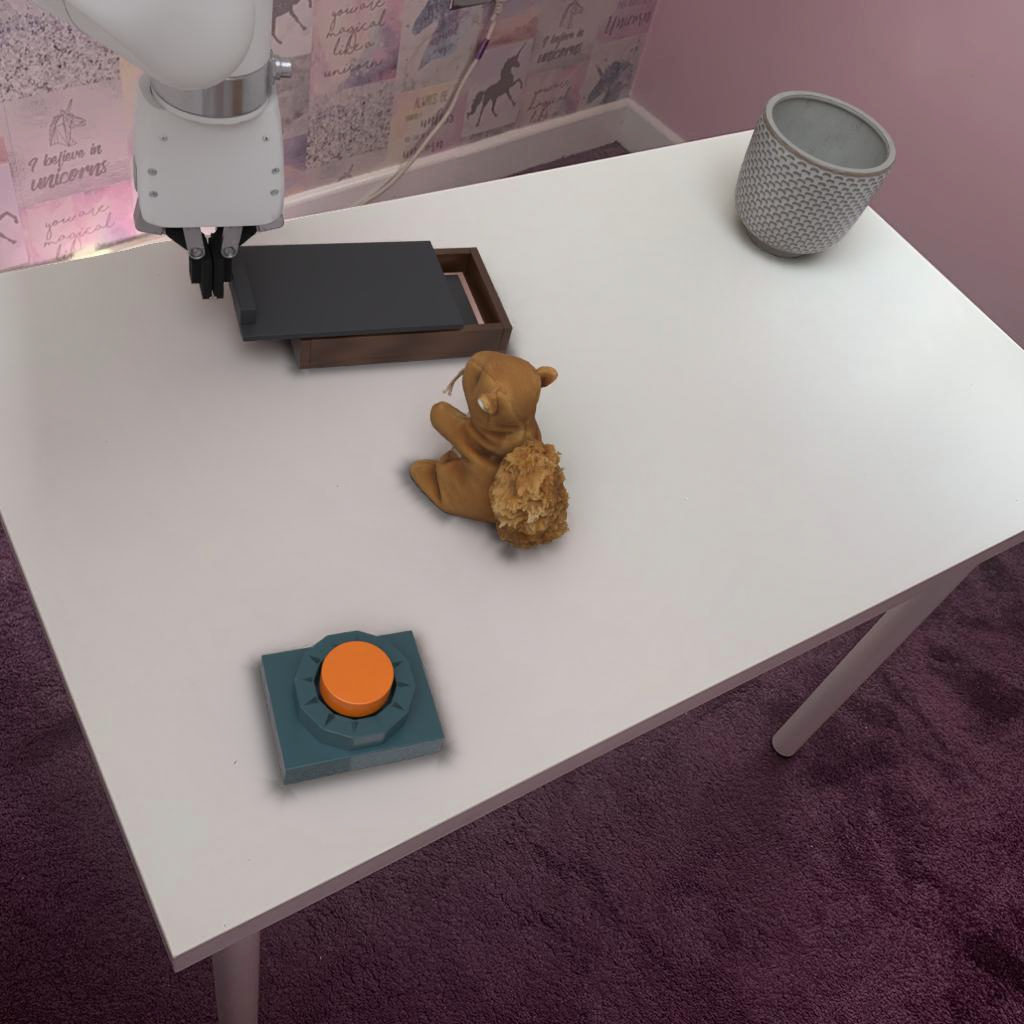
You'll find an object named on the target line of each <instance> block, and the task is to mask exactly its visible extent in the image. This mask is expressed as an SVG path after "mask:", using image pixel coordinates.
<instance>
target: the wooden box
mask: <svg viewBox="0 0 1024 1024" xmlns="http://www.w3.org/2000/svg"><path fill="white" fill-rule="evenodd" d="M434 251H435V253H436V256H437V258H438V261H439V263H440V265H441V268H442V270H443V273H444V275H445V278H446V280H447V282H448V285H449V287H450V290H451V292H452V295H453V297H454V300H455V302H456V304H457V307H458V309H459V312H460V314H461V317H462V319H463V321H464V327H463V328H462V329H446V330H430V331H413V332H397V333H381V334H364V335H348V336H332V337H315V338H299V339H290V343H291V346H292V349H293V353H294V357H295V361H296V363H297V368H298V369H299V370H300V369H301V370H302V369H303V370H304V369H316V368H329V367H330V368H331V367H344V366H358V365H371V364H373V365H374V364H385V363H387V364H388V363H399V362H400V363H401V362H413V361H429V360H430V361H431V360H441V359H442V360H443V359H458V358H471V357H472V356H473V355H474V354H475V353H478V352H481V351H494V352H500V353H504V354H507V349H508V346H509V343H510V339H511V337H512V332H513V329H514V327H513V326H512V324H511V321H510V319H509V316H508V313H507V312H506V310H505V308H504V306H503V304H502V301H501V298H500V297H499V294H498V292H497V289H496V288H495V285H494V283H493V281H492V278H491V276H490V273H489V272H488V269H487V267H486V264H485V263H484V261H483V259H482V256H481V254H480V251H479V249H478V247H477V246H471V247H441V248H438V247H437V248H434Z"/></svg>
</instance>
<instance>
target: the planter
mask: <svg viewBox="0 0 1024 1024" xmlns="http://www.w3.org/2000/svg"><path fill="white" fill-rule="evenodd" d="M896 160H897V148H896V145H895V143H894V140H893V138H892V137H891V136H890V134H889V133H888V131H887V130H886V129H885V128H884V127H883V126H882V125H881V124H880V123H879V122H878V121H877V120H876V119H874V118H873V117H872V116H870V115H869V114H868V113H866V112H864V111H863V110H861V109H860V108H858V107H856V106H854V105H853V104H850V103H848V102H846V101H844V100H841V99H839V98H837V97H833V96H830V95H828V94H823V93H820V92H815V91H809V90H788V91H783V92H780V93H777V94H775V95H773V96H771V97H770V98H769V99H768V100H767V102H766V103H765V105H764V106H763V108H762V109H761V112H760V114H759V117H758V119H757V121H756V124H755V126H754V129H753V132H752V134H751V137H750V140H749V143H748V145H747V148H746V150H745V153H744V156H743V160H742V163H741V166H740V169H739V172H738V175H737V179H736V184H735V191H734V205H735V208H736V209H735V210H736V212H737V214H738V215H737V216H738V217H739V219H740V220H741V222H742V223H743V225H744V227H745V230H746V233H747V235H748V237H749V239H750V240H751V241H752V242H753V243H754V244H755V245H756V246H758V248H760V249H761V250H763V251H765V252H767V253H769V254H771V255H773V256H777V257H780V258H790V259H792V258H798V257H801V256H803V255H810V254H816V253H822V252H823V251H826V250H829V249H831V248H832V247H834V246H835V245H836V244H838V243H839V242H841V240H842V239H843V238H844V237H845V236H846V235H847V234H848V233H849V232H850V230H852V228H853V227H854V225H855V224H856V223H857V221H858V220H859V219H860V217H861V216H862V215H863V213H864V212H865V211H866V210H867V207H868V206H869V205H870V203H871V202H872V200H873V199H874V197H875V195H876V194H877V193H878V191H880V188H881V187H882V185H883V184H884V183H885V181H886V179H887V178H888V176H889V175H890V173H891V172H892V169H893V167H894V165H895V163H896Z"/></svg>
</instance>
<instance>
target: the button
mask: <svg viewBox="0 0 1024 1024" xmlns="http://www.w3.org/2000/svg"><path fill="white" fill-rule="evenodd" d="M393 679H394V670H393V666H392V663H391V661H390V659H389V658H388V656H387V655H386V654H385V653H384V652H383V651H382V650H381V649H380V648H378V647H377V646H375V645H373V644H370V643H367V642H362V641H351V642H346V643H343V644H341V645H339V646H337V647H335V648H334V649H333V650H331V651H330V652H329V653H328V655H327V656H326V658H325V659H324V662H323V665H322V669H321V675H320V682H319V687H320V692H321V695H322V697H323V699H324V701H325V702H326V704H327V705H328V706H329V707H330V708H331V709H333V710H334V711H336V712H338V713H340V714H342V715H345V716H349V717H362V716H367V715H370V714H372V713H374V712H376V711H377V710H379V709H380V708H381V707H382V706H383V705H384V704H385V702H386V701H387V699H388V697H389V694H390V690H391V687H392V683H393Z"/></svg>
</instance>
